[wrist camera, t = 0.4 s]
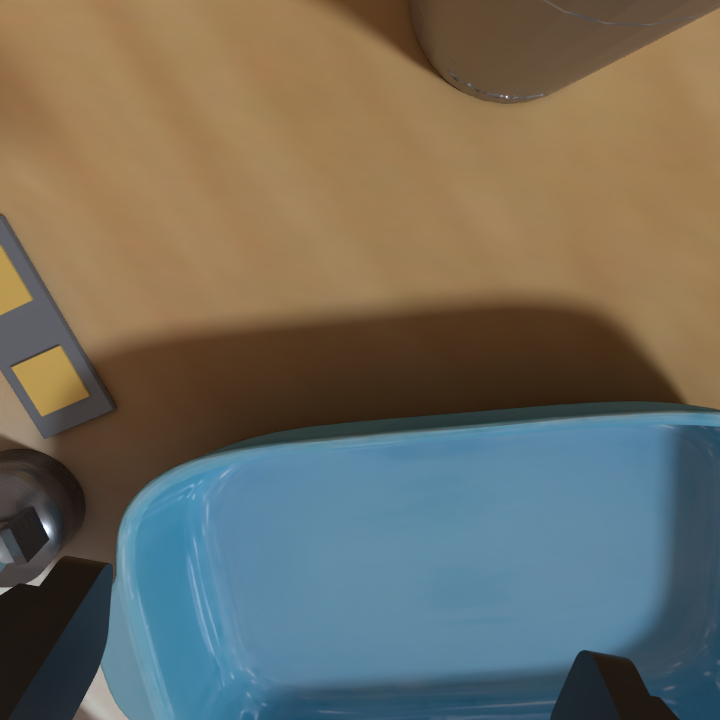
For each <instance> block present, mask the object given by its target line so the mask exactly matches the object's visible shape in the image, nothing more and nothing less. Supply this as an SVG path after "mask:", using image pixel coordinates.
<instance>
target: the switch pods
mask: <svg viewBox="0 0 720 720" xmlns="http://www.w3.org/2000/svg"><path fill="white" fill-rule="evenodd" d="M84 515H85V500H84V495H83V492H82V490H81V487H80V485H79V484H78V482H77V480H76V479H75V477H74V476H73V475H72V473H71V472H70V471H69V470H68V469H67V468H66V467H65V466H63V465H62V464H61V463H60V462H58V461H57V460H55V459H53V458H52V457H50V456H48V455H45V454H43V453H40V452H37V451H33V450H27V449H12V450H7V451H3V452H0V523H2V522H6V521H9V522H8V523H7V524H6V525H5V526H3V527H2V528H1V529H0V535H1V537H2V539H3V541H4V543H5V545H6V547H7V549H8V551H9V553H10V555H11V557H12V559H13V561H14V562H12V563H8V564H6V566H5V567H4V568H3V570H2V571H1V573H0V587H14V586H16V585H17V584H19V583H22V584H25V583H28V582H30V581H32V580H33V579H35V578H36V577H37V576H39V575H40V574H41V573H42V572H43V571H44V569H45V568H46V567H47V566H48V565H49V564H50V563H51V561H52V560H53V559H54V558H55V557H56V556H57V555H58V553H59V552H60V551H61V550H62V549H63V548H64V547H65V545H66V544H67V543H68V542H69V541H70V540H71V538H72V537H73V536H74V535H75V534H76V533H77V531H78V530H79V528H80V527H81V525H82V522H83V520H84Z"/></svg>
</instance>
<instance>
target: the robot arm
mask: <svg viewBox="0 0 720 720" xmlns="http://www.w3.org/2000/svg"><path fill="white" fill-rule="evenodd" d="M409 3H410V11H411V19H412V23H413V26H414V29H415V32H416V35H417V39H418V42H419V44H420V46H421V48H422V49H423V51H424V53H425V55H426V56H427V58H428V60H429V62H430V63H431V64H432V66H433V67H434V68H435V69H436V70H437V71H438V72H439V73H440V75H441V76H442V77H443V78H444V79H445V80H446V81H448V82H449V83H450V84H452V85H453V86H455V87H456V88H457V89H459V90H460V91H462V92H463V93H466V94H468V95H470V96H473V97H475V98H478V99H480V100H483V101H489V102H496V103H502V104H508V103H522V102H528V101H531V100H535V99H538V98H541V97H545V96H548V95H550V94H552V93H554V92H556V91H558V90H559V89H561V88H563V87H565V86H567V85H569V84H571V83H573V82H576V81H578V80H580V79H582V78H584V77H586V76H588V75H590V74H592V73H594V72H596V71H598V70H600V69H602V68H603V67H605V66H607V65H609V64H611V63H613V62H615V61H617V60H619V59H621V58H623V57H625V56H627V55H629V54H631V53H633V52H635V51H636V50H638V49H640V48H642V47H644V46H646V45H648V44H650V43H652V42H654V41H656V40H658V39H660V38H662V37H664V36H666V35H668V34H670V33H671V32H673V31H675V30H677V29H679V28H681V27H683V26H685V25H687V24H689V23H691V22H693V21H695V20H697V19H699V18H701V17H703V16H704V15H706V14H708V13H710V12H712V11H714V10H716V9H718V8H720V0H409ZM112 579H113V567H112V565H111V564H109V563H104V562H98V561H93V560H87V559H81V558H76V557H70V556H64V557H62V558H61V559H60V560H59V561H58V562H57V563H56V565H55V566H54V567H53V569H52V570H51V571H50V573H49V574H48V575H47V577H46V578H45V579H44V581H43V582H42V583H41V585H40V586H33V585H27V584H22V583H19V584H17V585H16V586H14V587H12V588H11V589H9V590H8V591H6V592H5V593H3V594H2V595H0V720H72V719H73V717H74V715H75V713H76V711H77V710H78V708H79V706H80V704H81V702H82V700H83V698H84V696H85V694H86V692H87V690H88V688H89V686H90V685H91V683H92V681H93V679H94V677H95V675H96V673H97V670H98V668H99V666H100V663H101V660H102V657H103V654H104V651H105V647H106V643H107V638H108V631H109V618H110V605H111V592H112ZM550 720H680V719H679V718H678V717H677V716H676V715H675V714H674V713H673V712H672V710H671V709H670V708H669V707H668V706H667V705H666V704H665V702H664V701H663V700H662V699H661V698H660V697H656V696H651V695H650V694H649V692H648V690H647V688H646V686H645V684H644V682H643V680H642V678H641V676H640V674H639V672H638V670H637V668H636V667H635V665H634V663H633V662H632V661H631V660H630V659H629V658H626V657H622V656H616V655H611V654H605V653H599V652H594V651H588V650H582V651H580V652H579V653H578V654H577V656H576V658H575V660H574V662H573V665H572V667H571V669H570V671H569V674H568V676H567V678H566V681H565V683H564V685H563V687H562V690H561V692H560V694H559V697H558V699H557V701H556V703H555V706H554V708H553V710H552V713H551V717H550Z"/></svg>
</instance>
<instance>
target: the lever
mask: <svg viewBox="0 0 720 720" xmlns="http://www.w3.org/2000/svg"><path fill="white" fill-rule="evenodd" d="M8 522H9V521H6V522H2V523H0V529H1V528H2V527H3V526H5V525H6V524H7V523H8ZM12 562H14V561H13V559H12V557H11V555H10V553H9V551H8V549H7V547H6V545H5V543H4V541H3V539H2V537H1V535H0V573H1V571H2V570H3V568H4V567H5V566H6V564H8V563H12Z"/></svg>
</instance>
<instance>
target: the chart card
mask: <svg viewBox="0 0 720 720" xmlns="http://www.w3.org/2000/svg"><path fill="white" fill-rule="evenodd" d="M0 369H1V371H2V373H3V374H4V376H5V377H6V379H7V381H8V382H9V384H10V385H11V387H12V389H13V390H14V392H15V393H16V395H17V396H18V398H19V400H20V401H21V403H22V404H23V406H24V408H25V409H26V411H27V412H28V414H29V415H30V417H31V419H32V420H33V422H34V423H35V425H36V427H37V428H38V430H39V431H40V433H41V435H42V436H43V438H44V439H46V438H48V437H51V436H53V435H55V434H58V433H60V432H62V431H65V430H67V429H69V428H72V427H74V426H77V425H79V424H81V423H84V422H86V421H88V420H91V419H93V418H96V417H98V416H100V415H103V414H105V413H107V412H110V411H112V410H114V409H115V408H116V406H115V404H114V402H113V401H112V399H111V397H110V395H109V394H108V392H107V390H106V389H105V387H104V385H103V383H102V382H101V380H100V378H99V377H98V375H97V373H96V371H95V370H94V368H93V366H92V365H91V363H90V361H89V360H88V358H87V356H86V354H85V353H84V351H83V349H82V348H81V346H80V344H79V342H78V341H77V339H76V337H75V336H74V334H73V332H72V330H71V329H70V327H69V325H68V324H67V322H66V320H65V318H64V317H63V315H62V313H61V312H60V310H59V308H58V306H57V305H56V303H55V301H54V300H53V298H52V296H51V295H50V293H49V291H48V289H47V288H46V286H45V284H44V283H43V281H42V279H41V277H40V276H39V274H38V272H37V271H36V269H35V267H34V265H33V264H32V262H31V260H30V259H29V257H28V255H27V253H26V252H25V250H24V248H23V247H22V245H21V243H20V242H19V240H18V238H17V236H16V235H15V233H14V231H13V230H12V228H11V226H10V224H9V223H8V221H7V219H6V218H5V216H0Z"/></svg>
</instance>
